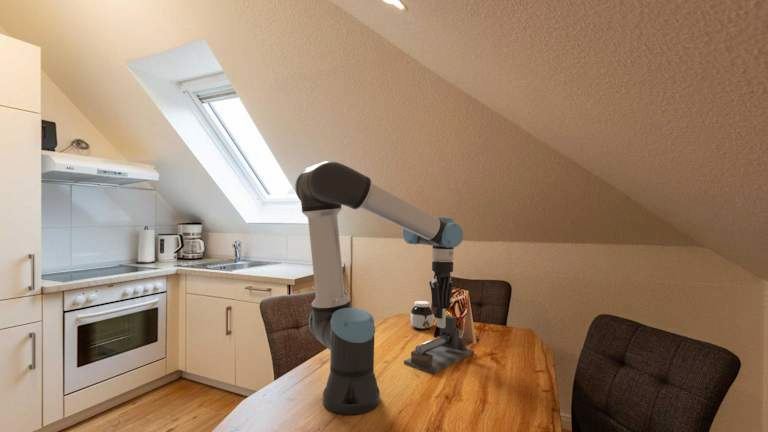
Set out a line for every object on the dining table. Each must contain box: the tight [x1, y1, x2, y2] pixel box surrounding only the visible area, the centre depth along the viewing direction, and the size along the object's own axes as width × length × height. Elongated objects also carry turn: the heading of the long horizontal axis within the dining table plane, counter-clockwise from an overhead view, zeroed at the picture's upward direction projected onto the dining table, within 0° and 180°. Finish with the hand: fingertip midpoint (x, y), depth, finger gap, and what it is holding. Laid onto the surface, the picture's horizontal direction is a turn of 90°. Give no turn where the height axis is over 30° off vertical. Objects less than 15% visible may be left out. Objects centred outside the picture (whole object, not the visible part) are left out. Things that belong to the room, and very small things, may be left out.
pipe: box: [415, 329, 463, 355], centre depth 130 cm, size 25×3×3 cm, turn 138°
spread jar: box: [410, 300, 436, 331], centre depth 167 cm, size 12×11×12 cm
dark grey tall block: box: [439, 314, 460, 350], centre depth 134 cm, size 3×6×11 cm, turn 48°
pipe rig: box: [403, 337, 475, 375], centre depth 130 cm, size 26×12×4 cm, turn 138°
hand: (441, 326), depth 130 cm, fingers closed
